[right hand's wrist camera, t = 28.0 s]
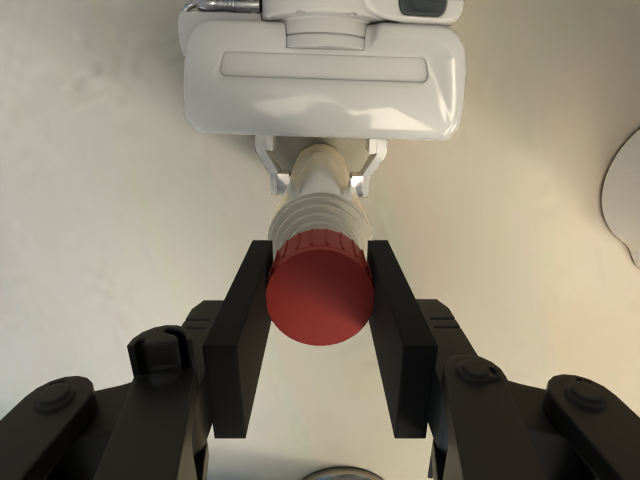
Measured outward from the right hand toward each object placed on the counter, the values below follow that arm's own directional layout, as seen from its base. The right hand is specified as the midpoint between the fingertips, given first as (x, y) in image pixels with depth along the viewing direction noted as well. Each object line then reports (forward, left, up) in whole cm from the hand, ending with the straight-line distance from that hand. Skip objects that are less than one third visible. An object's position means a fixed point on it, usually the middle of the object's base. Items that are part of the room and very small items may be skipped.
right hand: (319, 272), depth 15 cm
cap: (0, 0, +2) cm, 2 cm away
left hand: (-1, +1, -17) cm, 17 cm away
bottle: (0, 0, -23) cm, 23 cm away
